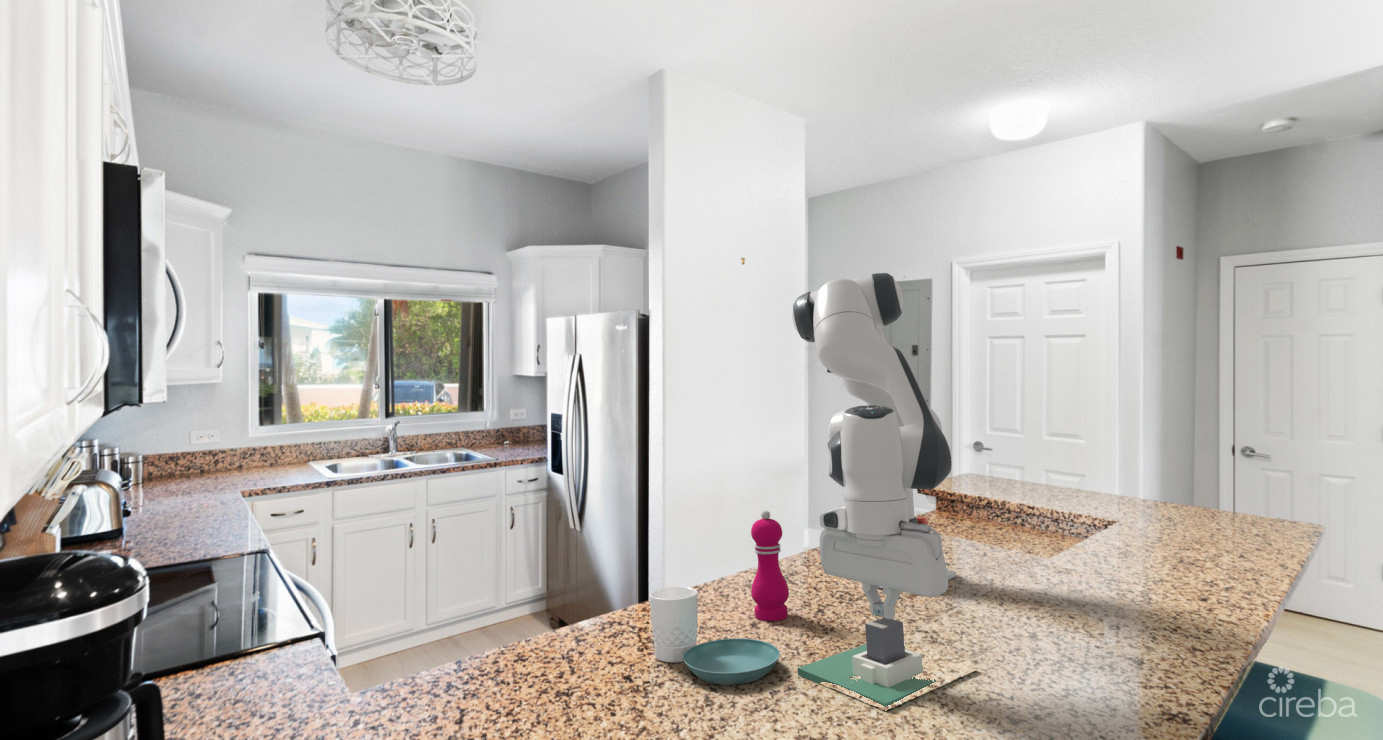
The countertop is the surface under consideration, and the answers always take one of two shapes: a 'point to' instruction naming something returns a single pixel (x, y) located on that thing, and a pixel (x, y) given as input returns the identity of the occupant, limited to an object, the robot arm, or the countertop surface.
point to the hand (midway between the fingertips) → (883, 616)
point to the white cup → (674, 622)
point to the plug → (885, 640)
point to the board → (869, 674)
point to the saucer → (731, 660)
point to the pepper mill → (768, 571)
